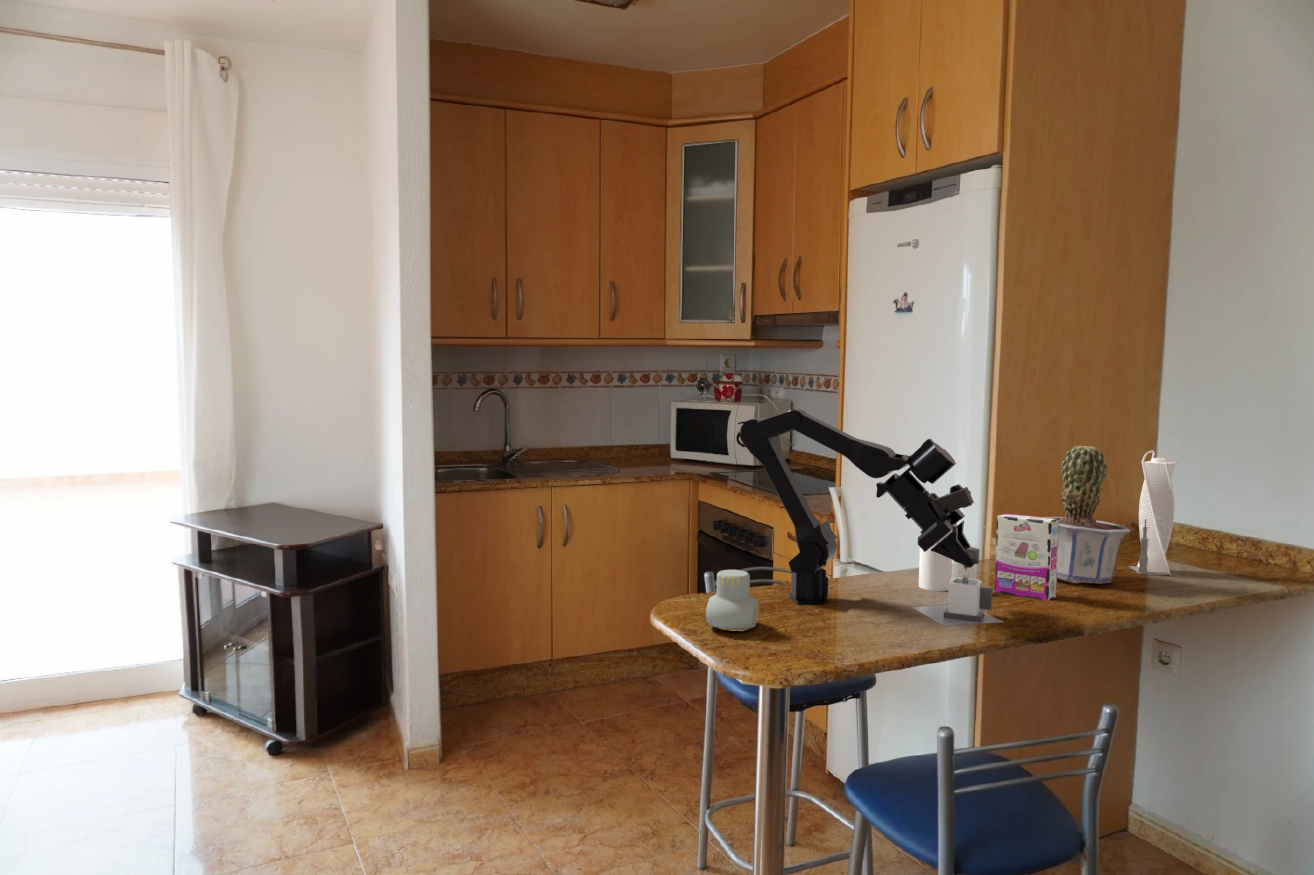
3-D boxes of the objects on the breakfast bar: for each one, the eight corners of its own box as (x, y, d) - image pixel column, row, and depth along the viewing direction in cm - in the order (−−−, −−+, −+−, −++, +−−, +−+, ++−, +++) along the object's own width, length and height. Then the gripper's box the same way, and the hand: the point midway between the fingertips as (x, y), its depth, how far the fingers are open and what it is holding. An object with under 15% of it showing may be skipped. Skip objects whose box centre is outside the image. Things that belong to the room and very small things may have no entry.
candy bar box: (1056, 597, 181) (1060, 518, 179) (1048, 602, 177) (1051, 521, 176) (1002, 588, 188) (1005, 512, 187) (993, 592, 184) (996, 514, 183)
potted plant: (1132, 593, 185) (1140, 450, 182) (1040, 585, 190) (1046, 447, 188) (1118, 574, 201) (1125, 443, 199) (1033, 568, 207) (1038, 441, 205)
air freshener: (750, 638, 152) (751, 581, 151) (703, 634, 154) (704, 578, 153) (760, 621, 162) (761, 568, 162) (716, 617, 165) (716, 564, 164)
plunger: (951, 590, 163) (952, 549, 162) (954, 585, 166) (956, 545, 166) (976, 593, 161) (977, 552, 160) (979, 588, 164) (980, 547, 164)
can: (952, 595, 182) (954, 538, 181) (919, 593, 183) (921, 536, 182) (948, 587, 188) (950, 532, 187) (917, 586, 189) (919, 531, 188)
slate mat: (942, 629, 158) (942, 625, 158) (911, 611, 170) (912, 607, 170) (1003, 626, 160) (1003, 622, 160) (969, 608, 172) (969, 604, 172)
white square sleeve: (943, 617, 162) (944, 583, 162) (949, 609, 168) (950, 575, 168) (989, 623, 159) (990, 588, 158) (993, 614, 165) (994, 580, 164)
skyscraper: (1126, 566, 209) (1131, 449, 207) (1162, 568, 208) (1168, 450, 206) (1140, 574, 201) (1146, 453, 199) (1178, 576, 200) (1185, 453, 198)
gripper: (938, 477, 155) (1003, 545, 151) (954, 466, 172) (1013, 527, 168) (892, 517, 159) (953, 584, 155) (912, 503, 176) (968, 564, 172)
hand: (974, 563), depth 162 cm, fingers closed on plunger, 4 cm apart
